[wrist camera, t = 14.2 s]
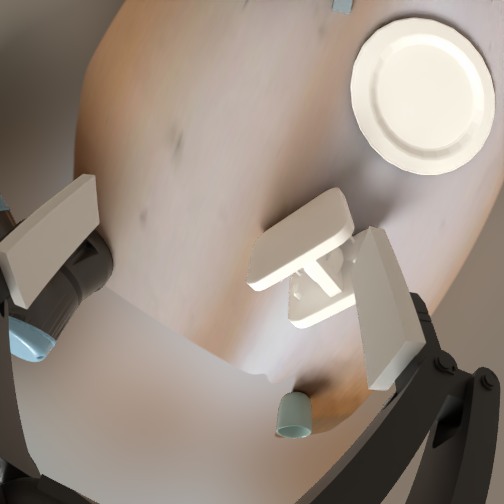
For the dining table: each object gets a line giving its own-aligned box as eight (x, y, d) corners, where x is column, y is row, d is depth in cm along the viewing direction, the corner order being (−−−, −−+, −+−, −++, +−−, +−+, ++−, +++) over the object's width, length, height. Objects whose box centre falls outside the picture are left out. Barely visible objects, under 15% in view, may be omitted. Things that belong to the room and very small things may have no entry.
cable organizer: (341, 176, 39) (356, 219, 30) (380, 233, 43) (399, 285, 34) (254, 235, 46) (242, 288, 37) (297, 281, 50) (296, 337, 41)
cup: (297, 384, 67) (295, 422, 59) (318, 396, 69) (318, 432, 61) (272, 394, 71) (269, 431, 63) (294, 406, 73) (292, 440, 65)
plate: (411, 199, 40) (415, 205, 39) (312, 82, 33) (313, 83, 32) (510, 118, 30) (517, 121, 28) (428, -9, 23) (433, -11, 22)
